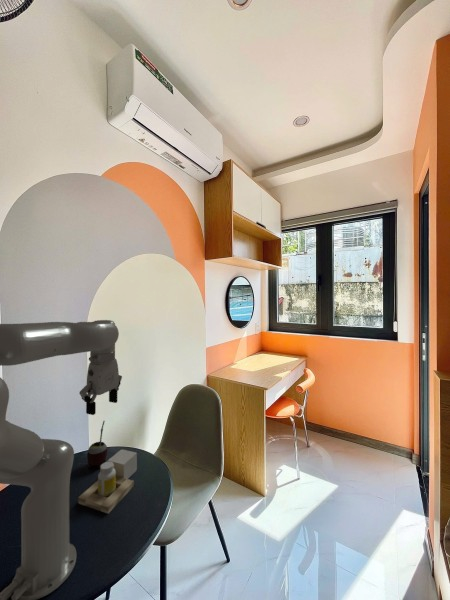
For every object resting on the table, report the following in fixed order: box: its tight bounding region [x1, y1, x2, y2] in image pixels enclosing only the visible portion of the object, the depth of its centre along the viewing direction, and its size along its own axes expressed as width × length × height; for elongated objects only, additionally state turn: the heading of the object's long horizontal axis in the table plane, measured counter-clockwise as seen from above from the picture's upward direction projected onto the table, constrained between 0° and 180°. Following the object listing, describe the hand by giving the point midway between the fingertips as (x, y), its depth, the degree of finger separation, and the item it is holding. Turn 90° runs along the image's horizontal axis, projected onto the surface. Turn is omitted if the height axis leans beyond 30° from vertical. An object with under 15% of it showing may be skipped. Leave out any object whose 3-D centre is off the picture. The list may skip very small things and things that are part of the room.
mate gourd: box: [86, 420, 108, 470], centre depth 101 cm, size 8×8×15 cm
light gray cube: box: [107, 449, 138, 479], centre depth 96 cm, size 7×7×7 cm
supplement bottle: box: [97, 461, 116, 498], centre depth 86 cm, size 5×5×10 cm
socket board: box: [77, 476, 135, 514], centre depth 86 cm, size 12×12×2 cm
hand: (102, 407), depth 86 cm, fingers open, 9 cm apart
